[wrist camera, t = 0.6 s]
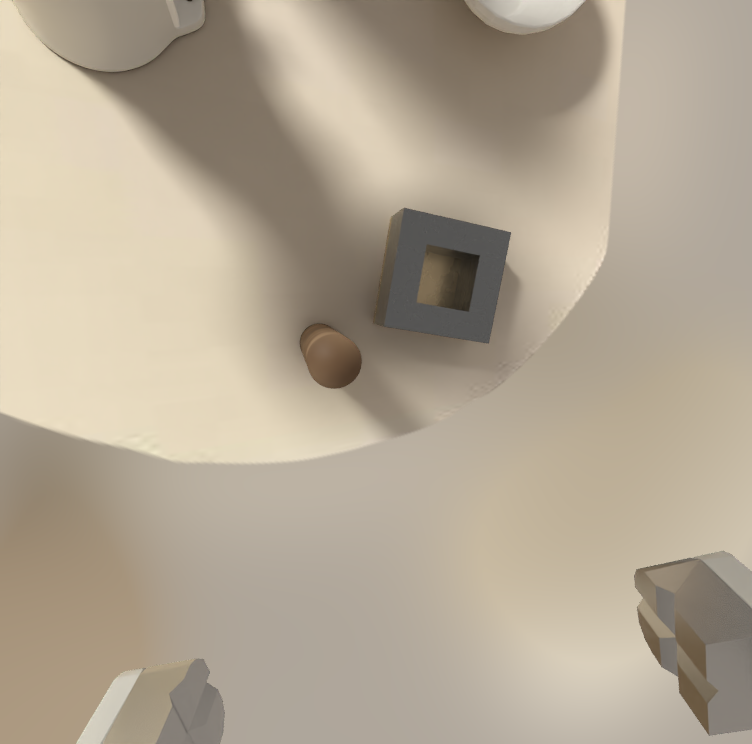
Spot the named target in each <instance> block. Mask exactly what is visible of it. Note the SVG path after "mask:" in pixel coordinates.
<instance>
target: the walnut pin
mask: <svg viewBox="0 0 752 744" xmlns="http://www.w3.org/2000/svg"><path fill="white" fill-rule="evenodd" d="M300 347H301V350H302V353H303V356H304V358H305V361H306V364H307V366H308V369H309V372H310V374H311V376H312V377H313V379H314V380H315V381H316V382H317V383H319V384H320V385H322V386H324V387H327V388H341V387H344V386H347V385H348V384H350V383H351V382H352V381H354V379H355V378H356V377H357V376H358V374H359V372H360V369H361V363H362V359H361V354H360V351H359V349H358V347H357V346H356V345H355V343H354V342H353V341H351V340H350V339H348V338H347V337H345V336H344V335H342V334H341V333H339V332H337V331H336V330H334V329H333V328H331V327H329V326H328V325H325V324H314V325H311V326H309V327H308V328H307V329H305V331H304V332H303V333H302V335H301V339H300Z"/></svg>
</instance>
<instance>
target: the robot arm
mask: <svg viewBox="0 0 752 744" xmlns="http://www.w3.org/2000/svg"><path fill="white" fill-rule="evenodd" d="M12 1H13V3H14V5H15V6H16V8H17V10H18V12H19V14H20V15H21V17H22V18H23V20H24V21H25V23H26V24H27V26H28V27H29V28H30V29H31V31H32V32H33V33H34V34H35V35H36V36H37V37H38V38H39V39H40V40H41V41H42V42H43V43H44V44H45V45H46V46H47V47H48V48H50V49H51V50H52V51H54V52H55V53H57V54H58V55H60V56H61V57H63V58H65V59H66V60H68V61H70V62H72V63H75V64H77V65H80V66H82V67H85V68H89V69H93V70H98V71H106V72H118V71H126V70H131V69H134V68H137V67H140V66H142V65H144V64H146V63H148V62H150V61H151V60H153V59H154V58H156V57H157V56H158V55H159V54H160V53H161V52H162V51H163V50H164V49H165V48H166V47H167V46H168V45H169V44H170V43H171V42H172V41H173V40H174V39H176V38H177V37H179V36H183V35H185V34H188V33H191V32H193V31H196V30H197V29H199V28H200V27H201V26H202V25H203V24H204V22H205V6H204V0H192V1H190V2H189V1H187V0H12ZM634 578H635V587H636V589H637V590H638V592H639V593H640V594H641V595H642V597H643V599H642V601H641V602H640V604H639V605H638V606H637V611H638V618H639V623H640V626H641V629H642V632H643V634H644V638H645V640H646V642H647V644H648V646H649V648H650V649H651V651H652V653H653V655H654V656H655V658H656V659H657V661H658V662H659V664H660V665H661V667H663V668H664V669H666V670H668V671H670V672H671V673H673V674H675V675H676V676H678V680H679V693H680V694H681V696H682V697H683V699H684V700H685V701H686V703H687V704H688V706H689V707H690V709H691V710H692V712H693V713H694V714H695V716H696V717H697V719H698V720H699V722H700V723H701V725H702V726H703V727H704V729H705V730H706V732H707V733H708V735H709V736H710V735H717V734H723V733H731V732H737V731H744V730H751V729H752V571H750V570H749V569H748V568H747V567H746V566H744V565H743V564H742V563H741V562H740V561H739V560H737V559H736V558H735V557H734V556H733V555H732V554H730V553H727V552H725V551H720V552H716V553H711V554H706V555H701V556H697V557H694V558H687V559H683V560H678V561H673V562H669V563H664V564H659V565H654V566H650V567H645V568H640V569H637V570H636V572H635V575H634ZM209 674H210V671H209V669H208V667H207V665H206V663H205V661H204V659H191V660H185V661H179V662H174V663H168V664H162V665H156V666H150V667H147V668H142V669H137V670H131V671H124V672H122V673H121V674H120V675H119V676H118V677H116V678H115V679H114V681H113V682H112V684H111V686H110V687H109V689H108V691H107V692H106V694H105V696H104V698H103V699H102V701H101V703H100V704H99V706H98V708H97V709H96V711H95V713H94V715H93V716H92V718H91V720H90V721H89V723H88V724H87V726H86V728H85V729H84V731H83V733H82V734H81V736H80V738H79V740H78V741H77V743H76V744H220V742H221V738H222V735H223V728H224V714H225V712H224V706H223V701H222V698H221V695H220V693H219V691H218V689H216V688H215V687H213V686H212V685H210V684H208V683H207V679H208V676H209Z"/></svg>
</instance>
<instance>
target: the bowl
mask: <svg viewBox="0 0 752 744" xmlns="http://www.w3.org/2000/svg"><path fill="white" fill-rule="evenodd" d="M464 1H465V2H466V4H467V5H468V7H469V8H470V10H471V11H472V12H473V13H474V14H475V15H476V16H477V17H479V18H480V19H481V20H482V21H483V22H484V23H485V24H487V25H489V26H491V27H493V28H495V29H497V30H499V31H502V32H506V33H513V34H520V35H526V34H531V33H537V32H542V31H546V30H548V29H550V28H552V27H554V26H556V25H557V24H559V23H561V22H563V21H564V20H566V19H567V18H569V17H570V16H571V15H572V14H573V13H574V12H575V11H576V10H577V9H578V8H579V7H580V6H581V5H582V4H583V3H584V2H585V1H586V0H464Z"/></svg>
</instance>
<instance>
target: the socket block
mask: <svg viewBox="0 0 752 744" xmlns="http://www.w3.org/2000/svg"><path fill="white" fill-rule="evenodd" d="M510 235H511V232H507V231H503V230H499V229H494V228H490V227H485V226H481V225H477V224H472V223H468V222H464V221H459V220H455V219H451V218H446V217H442V216H437V215H433V214H429V213H424V212H420V211H416V210H411V209H407V208H403V209H402V210H400V211H399V212H398V213H396V214H395V215H393V216H392V217H391V219H390V225H389V231H388V237H387V243H386V249H385V255H384V261H383V267H382V273H381V279H380V285H379V291H378V297H377V303H376V309H375V315H374V321H373V323H374V324H378V325H381V326H384V327H391V328H397V329H403V330H409V331H415V332H421V333H428V334H434V335H440V336H446V337H452V338H458V339H465V340H471V341H477V342H483V343H489V339H490V334H491V329H492V324H493V319H494V314H495V309H496V304H497V299H498V295H499V290H500V285H501V280H502V275H503V270H504V265H505V260H506V255H507V250H508V245H509V240H510Z"/></svg>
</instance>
